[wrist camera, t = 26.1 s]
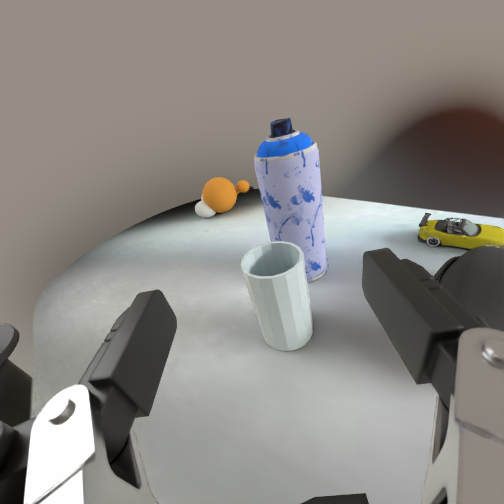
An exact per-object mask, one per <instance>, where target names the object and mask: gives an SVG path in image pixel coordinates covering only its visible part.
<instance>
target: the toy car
mask: <svg viewBox="0 0 504 504" xmlns="http://www.w3.org/2000/svg"><path fill="white" fill-rule="evenodd" d="M430 215H431V214H429V213H425V215H424V217H423V219H422V221H421V223H420V224H419V227H420V230H419V235H418V241H422V242H426V241H427V243H428V244H429V245H430V246H437V245H439V244H440V241H441V245H448V246H454V247H460V248H466V249H473V248H476V247H479V246H490V247H497V248H502V249H504V229H502V228H499V227H496V226H491V225H482V224H474V223H472V222H470V221H469V220H466V219H461V220H462V222H461V220H460V222H454V221H456V220H454V221H450V220H451V218H447V220H448V221H447V220H446V219H445V220H430V221H428V220H427V219H428V217H429V216H430ZM452 219H457V220H458V218H452ZM427 238H428V239H427ZM436 242H437V243H436ZM433 243H434V244H433Z"/></svg>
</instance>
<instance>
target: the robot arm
mask: <svg viewBox="0 0 504 504" xmlns="http://www.w3.org/2000/svg"><path fill="white" fill-rule="evenodd" d="M362 287H363V292H364V295H365V297H366V300H367V301H368V303H369V305H370V306H371V308H372V310H373V311H374V313H375V315H376V316H377V318H378V320H379V322H380V323H381V325H382V327H383V328H384V330H385V332H386V333H387V335H388V337H389V338H390V340H391V342H392V343H393V345H394V347H395V348H396V350H397V352H398V354H399V355H400V357H401V359H402V360H403V362H404V364H405V365H406V367H407V369H408V370H409V372H410V374H411V375H412V377H413V379H414V381H415V382H416V384H426V383H432V385H433V387H434V388H435V390H436V391H437V393H438V394H437V398H436V405H435V414H434V422H433V431H432V439H431V448H430V456H429V464H428V470H427V474H426V478H425V482H424V487H423V492H422V498H421V504H504V332H503V331H500V330H496V329H492V328H486V327H485V326H484V325H483V324H482V323H481V322H480V321H479V320H478V319H477V318H476V317H475V316H473V315H472V314H471V313H470V312H469V311H468V310H467V309H466V308H465V307H464V306H463V305H462V304H461V303H460V302H459V301H458V300H457V299H456V298H455V297H454V296H452V295H451V294H450V293H449V292H448V291H447V290H446V289H445V288H443V287H442V285H441V284H440V283H439V282H438V281H437V280H436V279H433V276H432V275H430V274H429V273H428V272H427V271H426V270H425V269H424V268H423V267H422V266H420V265H418V264H416V263H414V262H412V261H410V260H408V259H402V260H400V259H399V258H398V257H397V256H396V255H395V254H394V253H393V252H392V251H391V250H390V249H388V248H383V249H378V250H372V251H367V252H365V253H364V255H363V274H362ZM176 329H177V320H176V316H175V314H174V312H173V310H172V309H171V307H170V305H169V303H168V302H167V300H166V298H165V297H164V295H163V293H162V292H161V291H160V290H153V291H147V292H142V293H139V294H138V295H137V296H136V298H135V299H134V301H133V303H132V305H131V306H130V307H129V308H128V309H127V310H126V311H125V312H124V313H123V314H122V315H121V316H120V317H119V318H118V319H117V320H116V322H115V323H114V325H113V327H112V328H111V330H110V331H111V332H110V333H108V335H107V337H106V338H105V340H104V341H105V342H104V343H102V345H101V347H100V348H99V350H98V352H97V353H96V355H95V356H94V358H93V360H92V361H91V363H90V365H89V366H88V368H87V370H86V371H85V373H84V375H83V376H82V378H81V380H80V381H79V383H78V384H77V385H74V386H71V387H69V388H67V389H65V390H63V391H61V392H60V393H58V394H57V395H56V396H55V397H53V398H52V399H51V400H50V401H49V402H48V403H47V404H46V405H45V406H44V407H43V409H42V410H41V411H40V412H39V414H38V416H37V417H34V418H32V419H30V420H28V421H26V422H23V423H21V424H19V425H17V426H15V427H10V426H9V425H7V424H5V423H3V422H2V421H0V504H158V502H157V500H156V499H155V498H154V496H153V494H152V492H151V490H150V487H149V483H148V480H147V476H146V472H145V468H144V465H143V461H142V457H141V453H140V449H139V446H138V442H137V438H136V434H135V431H134V429H133V428H132V424H133V421H134V419H135V418H137V417H145V416H149V414H150V411H151V408H152V405H153V402H154V398H155V395H156V392H157V389H158V386H159V383H160V380H161V377H162V373H163V370H164V367H165V364H166V361H167V358H168V355H169V351H170V348H171V345H172V342H173V339H174V336H175V333H176ZM301 504H369V503H368V500H367V497H366V493H363V494H350V495H337V496H323V497H314V498H312V499H310V500H308V501H306V502H303V503H301Z"/></svg>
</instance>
